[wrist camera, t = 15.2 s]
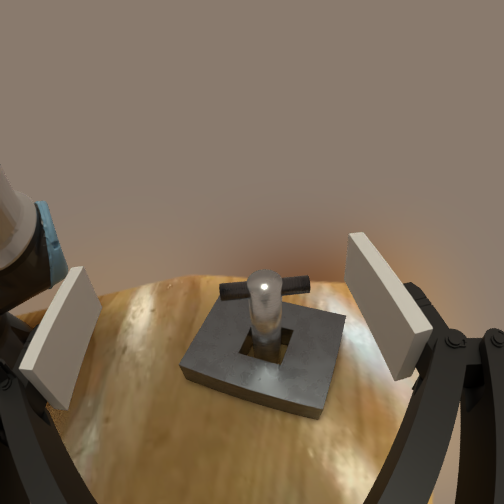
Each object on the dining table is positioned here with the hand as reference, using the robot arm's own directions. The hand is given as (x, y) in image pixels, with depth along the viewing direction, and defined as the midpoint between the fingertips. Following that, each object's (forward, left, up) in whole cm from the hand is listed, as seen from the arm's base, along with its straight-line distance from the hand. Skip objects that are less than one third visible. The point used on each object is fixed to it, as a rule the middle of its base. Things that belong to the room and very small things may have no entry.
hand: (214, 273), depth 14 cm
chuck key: (-2, +11, -27) cm, 29 cm away
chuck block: (-2, +11, -27) cm, 29 cm away
